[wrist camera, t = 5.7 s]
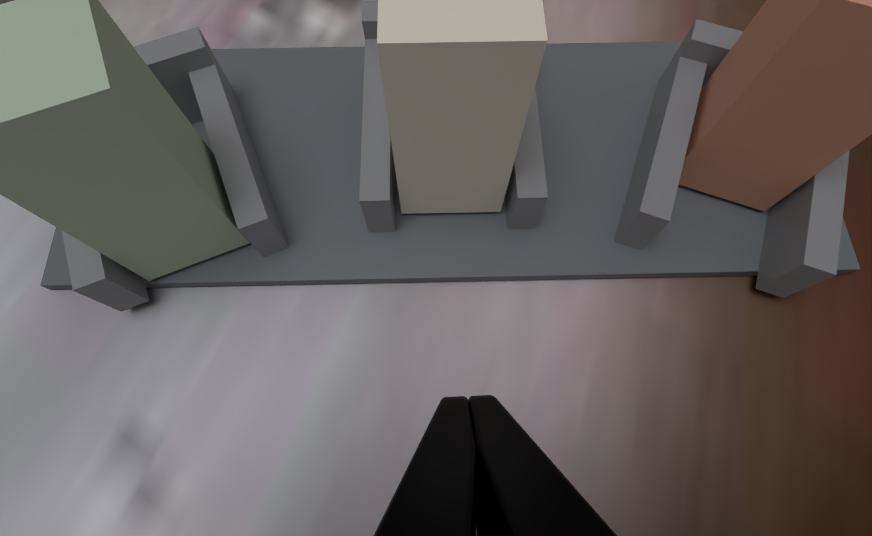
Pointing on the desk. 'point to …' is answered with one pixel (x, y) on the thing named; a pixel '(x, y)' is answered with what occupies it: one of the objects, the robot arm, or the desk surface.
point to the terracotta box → (783, 101)
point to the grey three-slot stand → (471, 231)
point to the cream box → (457, 96)
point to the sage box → (104, 142)
